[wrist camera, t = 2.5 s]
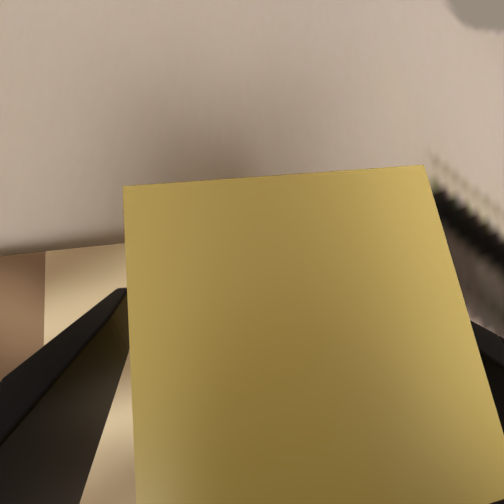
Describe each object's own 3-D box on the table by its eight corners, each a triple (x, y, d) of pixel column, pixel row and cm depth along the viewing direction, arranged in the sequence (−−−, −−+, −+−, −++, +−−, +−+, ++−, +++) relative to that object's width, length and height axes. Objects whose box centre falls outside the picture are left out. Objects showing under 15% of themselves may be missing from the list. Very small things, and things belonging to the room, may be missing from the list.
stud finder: (287, 336, 15) (521, 494, 3) (211, 350, 14) (141, 616, 2) (275, 260, 16) (422, 159, 4) (203, 269, 15) (122, 180, 3)
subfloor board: (356, 459, 15) (365, 470, 14) (-122, 584, 11) (-155, 612, 10) (311, 227, 18) (316, 222, 17) (-85, 269, 14) (-108, 267, 13)
